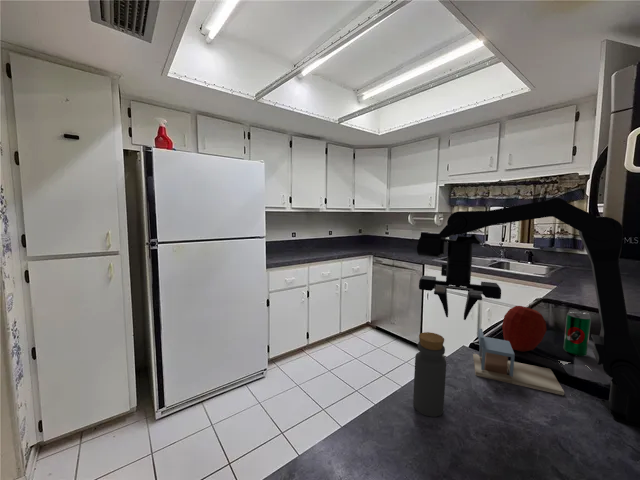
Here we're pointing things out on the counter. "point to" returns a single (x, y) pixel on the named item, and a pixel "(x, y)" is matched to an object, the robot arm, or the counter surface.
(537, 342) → the apple
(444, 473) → the counter surface
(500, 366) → the block
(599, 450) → the counter surface
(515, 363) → the board
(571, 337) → the soda can
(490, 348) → the light blue toy chair
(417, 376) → the bottle
